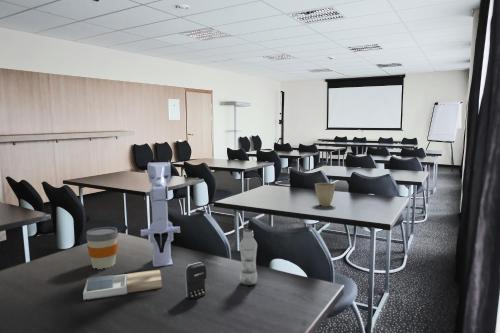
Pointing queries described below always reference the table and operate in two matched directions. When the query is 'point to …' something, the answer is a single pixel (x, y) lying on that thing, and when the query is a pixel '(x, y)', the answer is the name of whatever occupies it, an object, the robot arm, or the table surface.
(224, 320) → the table surface
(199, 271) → the battery charger
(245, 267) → the plastic bottle
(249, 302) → the table surface
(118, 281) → the box
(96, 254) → the reusable coffee cup
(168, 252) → the robot arm
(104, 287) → the blue-grey cube
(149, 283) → the beige piece
